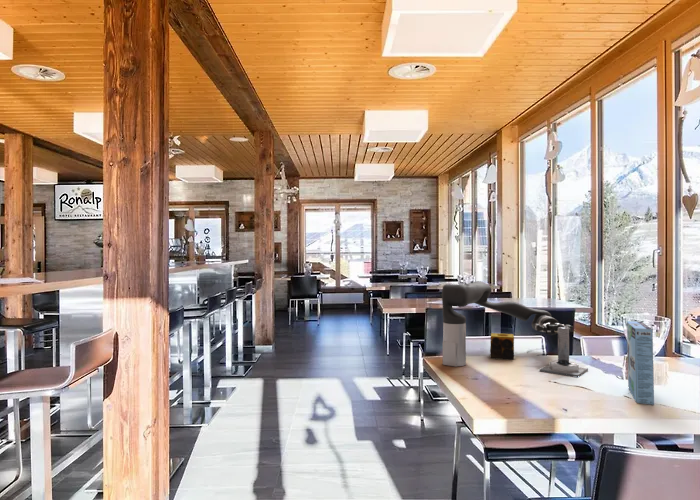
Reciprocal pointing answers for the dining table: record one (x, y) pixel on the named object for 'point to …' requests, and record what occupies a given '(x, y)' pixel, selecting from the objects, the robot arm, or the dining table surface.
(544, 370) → the collar
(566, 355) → the pin
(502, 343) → the brown textured cube
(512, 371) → the dining table surface
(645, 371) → the blue cardboard box
